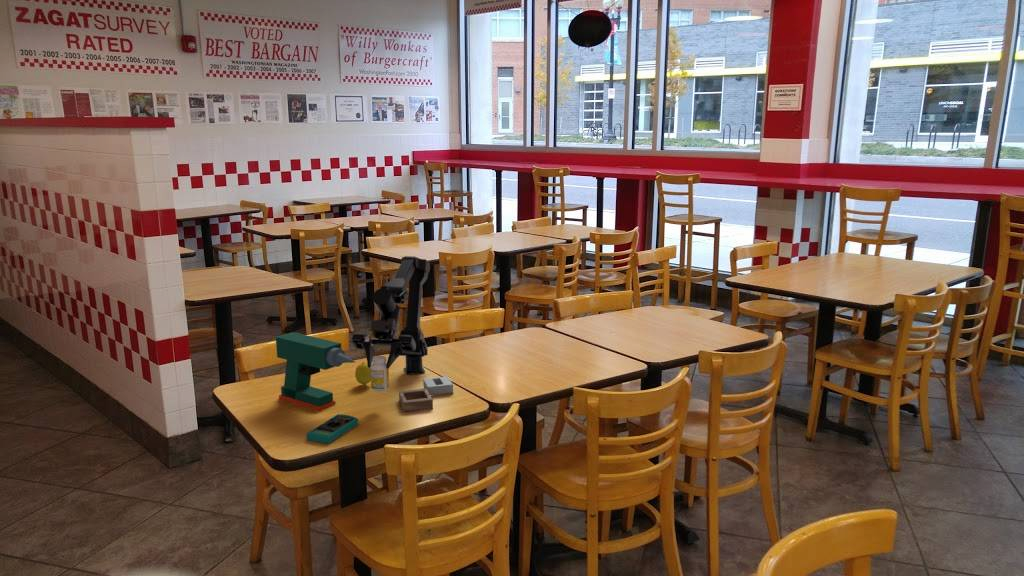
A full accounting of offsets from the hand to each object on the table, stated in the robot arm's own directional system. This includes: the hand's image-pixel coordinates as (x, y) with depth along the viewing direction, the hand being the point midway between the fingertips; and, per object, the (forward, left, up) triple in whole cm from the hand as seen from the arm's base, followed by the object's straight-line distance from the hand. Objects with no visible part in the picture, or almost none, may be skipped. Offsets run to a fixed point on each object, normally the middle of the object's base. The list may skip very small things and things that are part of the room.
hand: (377, 367), depth 212 cm
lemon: (-23, -2, -13) cm, 26 cm away
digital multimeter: (+12, -14, -14) cm, 24 cm away
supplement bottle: (-1, +1, -7) cm, 7 cm away
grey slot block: (-11, +20, -13) cm, 26 cm away
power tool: (-9, -16, -13) cm, 23 cm away
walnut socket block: (-1, +11, -13) cm, 17 cm away
